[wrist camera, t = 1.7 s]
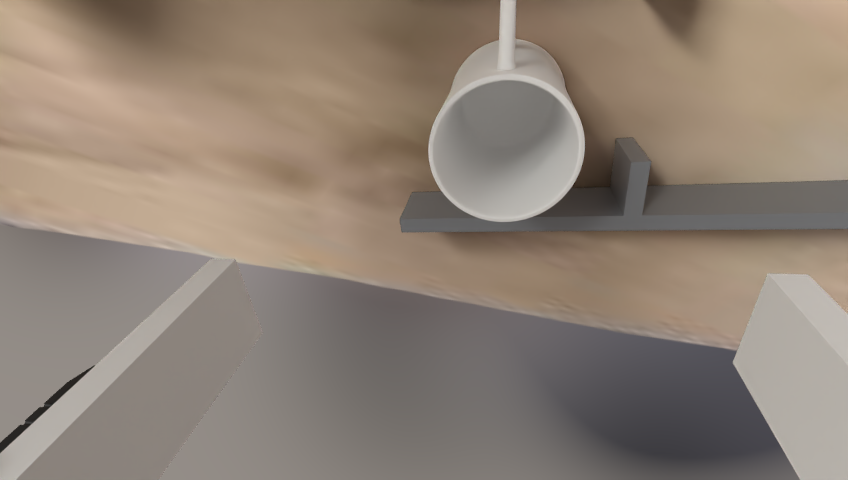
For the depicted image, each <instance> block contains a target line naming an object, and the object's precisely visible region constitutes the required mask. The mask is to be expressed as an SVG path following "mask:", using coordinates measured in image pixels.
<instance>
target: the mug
mask: <svg viewBox="0 0 848 480" xmlns="http://www.w3.org/2000/svg"><path fill="white" fill-rule="evenodd" d="M515 32H516V0H501V2H500V25H499V40H497V41H494V42H491V43H488V44H486V45H484V46H482V47H480V48H479V49H477V50H476V51H475V52H473V53H472V54H471V55H470V56H469V57H468V58H467V59H466V60H465V61H464V63H463V64H462V65H461V67H460V68H459V70H458V72H457V74H456V76H455V78H454V81H453V84H452V88H451V91H450V93H449V95H448V97H447V99H446V100H445V102H444V104H443V106H442V108H441V109H440V111H439V113H438V115H437V117H436V119H435V121H434V124H433V127H432V130H431V133H430V138H429V147H428V154H429V163H430V168H431V171H432V174H433V177H434V179H435V181H436V183H437V185H438V187H439V188H440V190H441V191H442V192H443V194H444V195H445V196H446V197H447V198H448V199H449V200H450V201H451V202H452V203H453V204H454V205H455V206H457V207H458V208H459V209H461V210H462V211H464V212H466V213H468V214H470V215H472V216H475V217H477V218H480V219H484V220H488V221H495V222H513V221H519V220H524V219H528V218H531V217H533V216H536V215H538V214H540V213H542V212H544V211H546V210H548V209H549V208H551V207H552V206H554V205H555V204H556V203H557V202H559V201H560V200H561V199H562V198H563V197H564V196H565V195H566V194H567V192H568V191H569V190H570V189H571V187H572V186H573V184H574V182H575V181H576V179H577V177H578V175H579V172H580V170H581V167H582V164H583V159H584V153H585V137H584V131H583V127H582V123H581V120H580V118H579V115H578V113H577V111H576V109H575V107H574V105H573V103H572V101H571V99H570V97H569V95H568V93H567V91H566V88H565V81H564V78H563V74H562V72H561V70H560V68H559V66H558V64H557V63H556V61H555V60H554V59H553V57H552V56H551V55H550V54H549V53H548V52H547V51H545V50H544V49H543V48H541V47H540V46H538V45H536V44H534V43H531V42H529V41H525V40H520V39H515Z"/></svg>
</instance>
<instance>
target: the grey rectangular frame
mask: <svg viewBox="0 0 848 480" xmlns="http://www.w3.org/2000/svg"><path fill="white" fill-rule="evenodd" d="M650 166H651V161H650V159H649V158H648V157H647V155H646V154H645V153H644V151H643V150H642V149H641V148H640V146H639V145H638V144H637V142H636V141H635V140H634V138H616V141H615V149H614V158H613V166H612V174H611V182H610V187H589V188H571V189H570V190H569V191H568V192H567V194H566V195H565V196H564V197H563V198H562V199H561V200H560V201H559V202H557V203H556V204H555V205H554V206H552V207H551V208H549V209H548V210H546V211H544V212H542V213H540V214H538V215H536V216H533V217H531V218H528V219H524V220H519V221H513V222H495V221H488V220H484V219H480V218H477V217H475V216H472V215H470V214H468V213H466V212H464V211H462V210H461V209H459V208H458V207H457V206H455V205H454V204H453V203H452V202H451V201H450V200H449V199H448V198H447V197H446V196H445V195H444V194H443V192H412V194H411V196H410V198H409V200H408V202H407V204H406V207H405V209H404V211H403V213H402V215H401V217H400V225H401V231H402V232H506V231H636V230H765V229H848V180H843V181H806V182H770V183H734V184H698V185H661V186H647V183H648V177H649V171H650Z"/></svg>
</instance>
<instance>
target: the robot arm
mask: <svg viewBox="0 0 848 480" xmlns="http://www.w3.org/2000/svg"><path fill="white" fill-rule="evenodd" d="M262 333H263V332H262V329H261V326H260V324H259V321H258V318H257V316H256V313H255V310H254V308H253V305H252V302H251V300H250V297H249V294H248V292H247V289H246V286H245V284H244V281H243V278H242V275H241V273H240V270H239V267H238V265H237V262H236V260H235V259H211V260H210V261H208V263H206V264H205V265H204V266H203V267H202V268H201V269H200V270H199V271H198V272H197V273H195V274H194V275H193V276H192V277H191V278H190V279H189V280H188V281H187V282H186V283H185V284H183V285H182V286H181V287H180V288H179V289H178V290H177V291H176V292H175V293H174V294H173V295H172V296H170V297H169V298H168V299H167V300H166V301H165V302H164V303H163V304H162V305H161V306H160V307H158V308H157V309H156V310H155V311H154V312H153V313H152V314H151V315H150V316H149V317H148V318H147V319H145V320H144V321H143V322H142V323H141V324H140V325H139V326H138V327H137V328H136V329H135V330H133V331H132V332H131V333H130V334H129V335H128V336H127V337H126V338H125V339H124V340H123V341H122V342H120V343H119V344H118V345H117V346H116V347H115V348H114V349H113V350H112V351H111V352H110V353H109V354H108V355H106V356H105V357H104V358H103V359H102V360H101V361H100V362H99V363H98V364H97V365H95V366H93V367H91V368H89V369H88V370H86V371H85V372H83V373H81V374H80V375H78V376H77V377H75V378H74V379H72V380H70V381H69V382H67V383H66V384H65V385H64V386H63V387H62V388H61V389H59V390H58V391H57V392H56V393H55V394H54V395H53V396H52V397H51V398H49V400H47V401H46V402H45V403H44V404H45V405H44V407H40V408H38V409H37V410H36V411H35V412H34V413H33V414H32V415H31V416H29V417H28V418H27V419H26V420H25V421H26V422H25V424H24V425H20V426H18V427H17V428H16V429H15V430H14V431H13V432H12V433H11V434H10V435H8V437H6V438H5V439H4V440H3V441H2V442H1V443H0V480H159V478H160V477H161V475H162V474H163V473H164V471H165V470H166V468H167V467H168V465H169V464H170V463H171V461H172V460H173V459H174V457H175V456H176V454H177V453H178V452H179V450H180V449H181V447H182V446H183V445H184V443H185V442H186V440H187V439H188V437H189V436H190V434H191V433H192V432H193V430H194V429H195V428H196V426H197V425H198V423H199V422H200V421H201V419H202V418H203V416H204V415H205V414H206V412H207V411H208V409H209V408H210V407H211V405H212V403H213V402H214V401H215V399H216V398H217V397H218V395H219V393H220V392H221V391H222V390H223V388H224V387H225V385H226V384H227V383H228V381H229V380H230V378H231V377H232V375H233V374H234V373H235V371H236V370H237V368H238V367H239V366H240V364H241V363H242V361H243V360H244V359H245V357H246V356H247V354H248V353H249V351H250V350H251V348H252V347H253V346H254V345H255V343H256V342H257V340H258V339H259V338H260V336H261V335H262ZM733 364H734V366H735V367H736V369H737V371H738V373H739V374H740V376H741V378H742V380H743V381H744V383H745V385H746V387H747V388H748V390H749V392H750V393H751V395H752V397H753V399H754V400H755V402H756V404H757V406H758V407H759V409H760V411H761V413H762V414H763V416H764V418H765V419H766V421H767V423H768V425H769V426H770V428H771V430H772V432H773V433H774V435H775V437H776V439H777V440H778V442H779V444H780V446H781V447H782V449H783V451H784V452H785V454H786V456H787V458H788V459H789V461H790V463H791V465H792V466H793V468H794V470H795V472H796V473H797V475H798V477H799V479H800V480H848V314H847V313H846V312H845V311H844V310H843V309H842V308H841V307H840V306H839V305H838V304H837V303H836V302H835V301H834V300H833V299H832V298H831V297H830V296H829V295H828V294H827V293H826V292H825V291H824V290H823V289H822V288H821V287H820V286H819V285H818V284H817V283H816V282H815V281H814V280H813V279H812V278H811V277H810V276H809V275H808V274H771V273H768V274H767V276H766V279H765V282H764V284H763V287H762V289H761V292H760V294H759V297H758V299H757V302H756V304H755V307H754V310H753V312H752V315H751V317H750V320H749V322H748V325H747V327H746V330H745V332H744V335H743V338H742V340H741V343H740V345H739V348H738V350H737V353H736V356H735V358H734V361H733Z"/></svg>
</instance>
